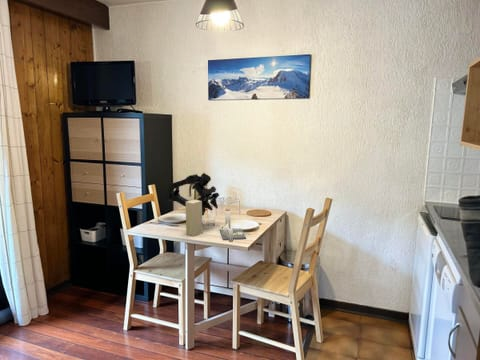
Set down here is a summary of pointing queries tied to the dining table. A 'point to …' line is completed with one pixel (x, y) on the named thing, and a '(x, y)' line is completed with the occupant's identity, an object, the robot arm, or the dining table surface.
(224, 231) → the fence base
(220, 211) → the dining table surface
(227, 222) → the fence post
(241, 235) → the board
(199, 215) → the toy refrigerator
